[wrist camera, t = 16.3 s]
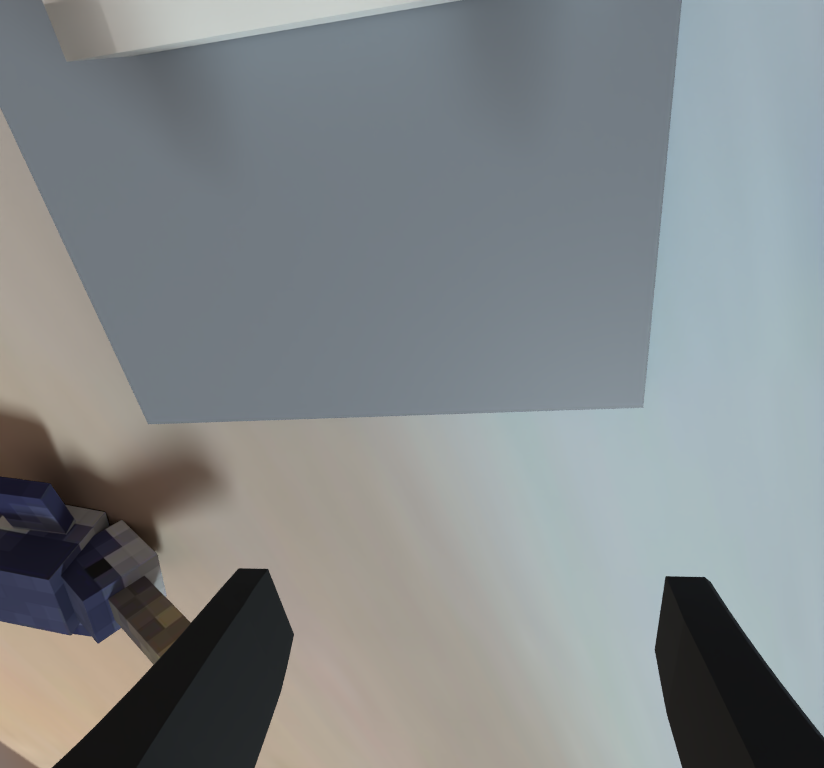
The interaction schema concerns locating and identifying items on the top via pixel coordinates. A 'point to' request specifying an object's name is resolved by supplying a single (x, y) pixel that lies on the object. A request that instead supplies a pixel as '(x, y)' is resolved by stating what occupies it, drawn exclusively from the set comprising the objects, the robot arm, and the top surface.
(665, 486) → the top surface
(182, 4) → the white u-shaped piece
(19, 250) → the top surface
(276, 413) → the board
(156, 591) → the toy
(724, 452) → the top surface
